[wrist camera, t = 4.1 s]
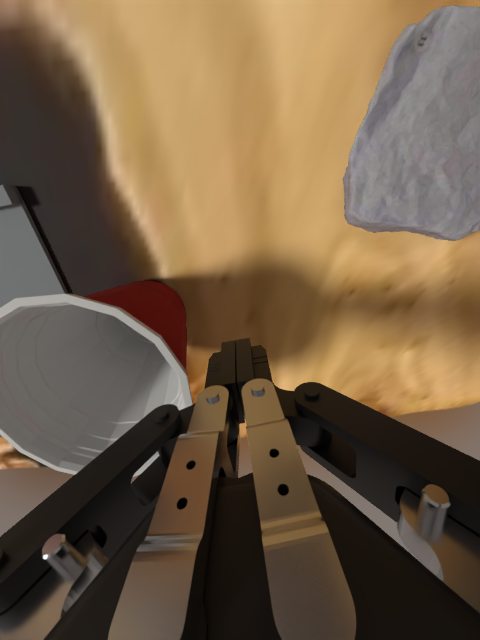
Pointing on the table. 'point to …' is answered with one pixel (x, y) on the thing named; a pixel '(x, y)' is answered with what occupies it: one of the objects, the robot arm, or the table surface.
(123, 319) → the plastic cup
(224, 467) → the robot arm
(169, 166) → the table surface
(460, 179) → the stone block
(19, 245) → the grey tray
